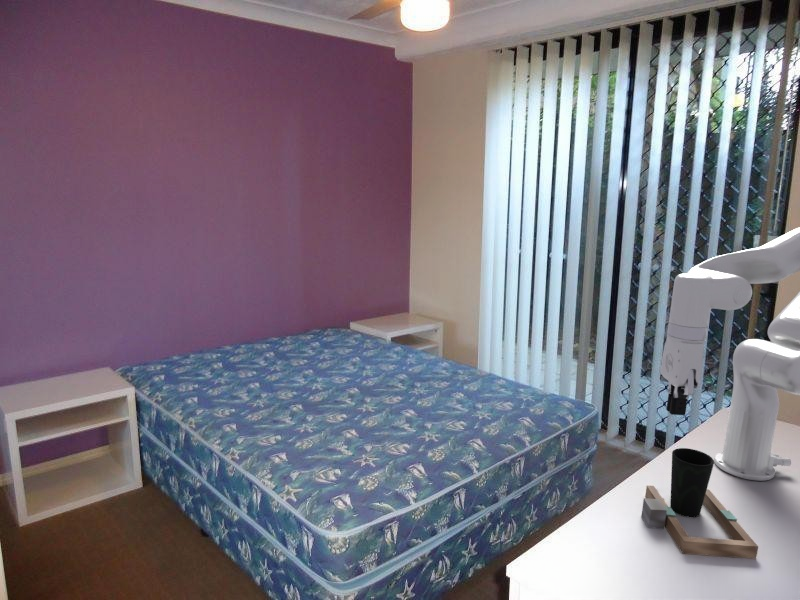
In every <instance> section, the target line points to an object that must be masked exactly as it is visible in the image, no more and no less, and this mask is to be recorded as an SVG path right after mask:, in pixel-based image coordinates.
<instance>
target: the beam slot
mask: <svg viewBox="0 0 800 600" xmlns="http://www.w3.org/2000/svg"><path fill="white" fill-rule="evenodd" d="M645 487H646V488H645V496H644V497H645V498H644V497H643V501H642V502H643V503H642V509H641V518H642V520H643V521H644V523H645V524H646V527H647V528H648V529H660V530H661V529H662V530H664V529H666V530H667V532H668V533H669V535H670V536H671V538H672V539H673V541H674V543H675V544H676V546H677V547H678V549H679V550H680V552H681V554H687V555H700V556H710V557H711V556H713V557H727V558H738V559H739V558H741V559H753V560H754V559H757V555H758V552H759V551H758V549H759V545H758V544H757V543H756V542H755V541H754V540H753V538H752V537H751V536H750V535H749V534H748V532H746V531H745V529H744V528H743V526H741V524H740V523H739V522H738V521H737V520H738V519H737V518H736V516H735V515H734V514H733V513H732V512H731V511H730V510H727V508H726V507H725V506H724V505H723V504H722V503H721V501H720V500H719V499H718V498H717V497H716V496H715V495H714V493H713V492H712V491H711V490H710V489H708V488H707V490H706V494H705V497H704V501H703V505H704V506H705V508H706V509H707V510H708V511H709V512H710V514H711V515H712V516H713V517H714V519H715V520H716V521H717V523H719V525H720V526H721V528H722V529H723V530H724V531H725V532H726V533H727V535H728V536H729V537H730V539H722V538H710V537H698V536H697V537H696V536H690V535H689V533H687V531H686V530H685V528H684V527H683V526H682V524H681V523H680V521H679V520H678V518H677V513H675V512H674V511H673V510H672V509H671V507H670V506H668V504H667V502H666V501H665V500H664V498H663V497H662V496H661V494H660V492H659V491H658V490H657V488H656V486H654V485H646V486H645Z"/></svg>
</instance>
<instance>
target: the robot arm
mask: <svg viewBox="0 0 800 600" xmlns="http://www.w3.org/2000/svg"><path fill="white" fill-rule="evenodd" d="M799 271H800V226H799V227H796V228H794V229H793V230H790V231H788V232H786V233H785V234H782V235H780V236H778V237H777V238H774V239H773V240H770V241H769V242H766V243H765V244H763V245H761V246H758V247H755V248H749V249H744V250H739V251H736V252H731V253H730V252H729V253H726V254H722V255H717V256H715V257H712V258H709V259H706V260H704V261H702V262H701V263H698V264H696V265H695V266H692V268H690V269H689V270H688V271H686V273H685V272H683V273H680V274H677V275H676V276H675V278H674V282H673V287H672V288H673V290H672V297H671V302H670V312H669V318H668V324H667V325H668V327H667V334H666V340H665V342H664V346H663V347H664V348H663V352H662V357H661V362H660V363H661V364H660V368H659V373H660V374H661V376H662V377H663V378H664V379H665V380H667V381H668V387H667V391H668V396H667V402H666V411H667V412H669V414H670V415H673V416H685V415H686V413H687V412H686V411H687V406H688V399H689V398H690V396H694V392H695V391H694V390H695V389H697V388H698V387H699V386H700V384H701V380H702V373H703V372H702V371H703V361H704V359H703V358H704V343H706V341H707V335H708V330H709V324H710V315H711V310H712V309H713V310H714V309H716V310H724V311H735V310H739V309H741V308H743V307H745V306H746V305H747V304H748V303H749V302H750V300H751V298H752V295H753V288H752V286H751V284H753V285H754V284H757V285H759V284H772V283H773V284H774V283H778V282H781V281H783V280H784V279H786V278H788V277H789V276H790V277H791V276H792V275H793V274H795V273H797V272H799ZM767 336H768V338H769V340H770V341H769V340H765V339H760V338H748V339H745V340H743V341H741V342H740V343H739V344H737V346H736V348H735V349H734V351H733V355H732V369H733V386H732V395H731V400H730V406H729V411H728V412H729V413H728V418H727V426H726V431H725V438H724V443H723V449H722V451H721V452H717V453H716V454H714V458H713V460H714V464H715V465H716V466H717V467H718V468H719V470H720V469H721V470H722V471H724V472H726V473H727V474H730V475H732V476H735V477H738V478H741V479H745V480H750V481H758V482H759V481H761V482H762V481H769V480H772V479H774V478H775V475H776V468H775V467H777V466H781V467H791V465H792V461H791V458H790V457H782V456H781V457H780V456H779V454H778V453H771V452H772V447H773V442H774V435H775V429H776V426H777V425H776V424H777V418H778V413H779V410H780V397H779V393H778V390H780V391H783V392H786V393H789V394H792V395H797V396H800V290H799V292H798V293H797V294H796V295H795V296H794V298H793V299H791V301H790V302H789V303H788V304H787V305H786V306H785V307H784V308H783V309H782V310H781V311H780V312H779V313H778V314H777V316H776V317H774V319H773V320H771V322H770V324H769V326H768V328H767Z"/></svg>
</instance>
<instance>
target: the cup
mask: <svg viewBox="0 0 800 600" xmlns="http://www.w3.org/2000/svg"><path fill="white" fill-rule="evenodd" d="M714 464H715V462H714V458H713V457H711V456H710V455H709V454H707V453H706V452H703V451H700V450H697V449H693V448H685V447H680V448H676V449H674V450H672V451H671V473H670V474H671V477H670V478H671V479H670V505H669V507H671V509H672V510H673V511H674V513H675V514H676V515H679V516H680V517H681V516H682V517H685V518H698V517H700V515H701V511H702V508H703V505H704V504H703V501H704V497H705V494H706V490H707V489H708V486H709V482H710V479H711V475H712V472H713V468H714Z"/></svg>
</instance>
